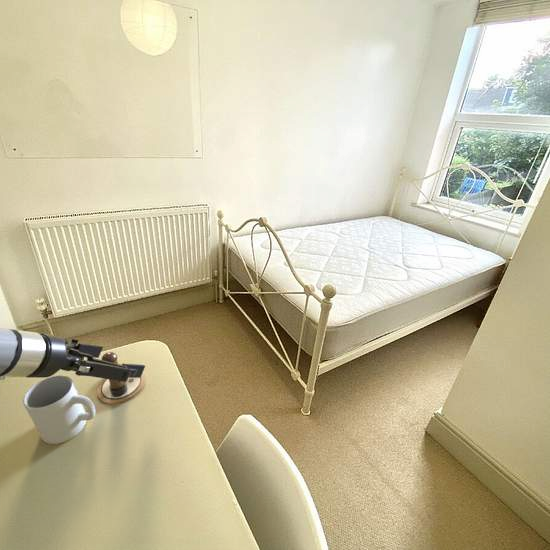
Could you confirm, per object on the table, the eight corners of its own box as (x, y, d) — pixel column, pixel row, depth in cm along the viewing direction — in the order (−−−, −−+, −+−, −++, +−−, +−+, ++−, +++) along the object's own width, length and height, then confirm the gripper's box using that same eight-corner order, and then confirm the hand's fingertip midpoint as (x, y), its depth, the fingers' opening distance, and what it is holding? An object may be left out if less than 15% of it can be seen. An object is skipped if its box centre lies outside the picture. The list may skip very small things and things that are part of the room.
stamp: (107, 393, 74) (95, 356, 68) (120, 382, 77) (108, 346, 71) (118, 399, 72) (106, 361, 67) (130, 388, 75) (120, 351, 69)
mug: (31, 444, 63) (11, 408, 58) (57, 408, 70) (41, 374, 65) (90, 445, 63) (75, 410, 58) (110, 409, 71) (98, 375, 65)
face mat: (86, 393, 74) (86, 391, 74) (123, 363, 83) (123, 361, 83) (119, 410, 70) (119, 409, 70) (155, 377, 79) (154, 375, 79)
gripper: (-22, 352, 57) (76, 359, 76) (69, 404, 48) (154, 397, 68) (-1, 314, 59) (90, 330, 78) (90, 357, 50) (167, 363, 69)
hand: (120, 361), depth 73 cm, fingers open, 13 cm apart
